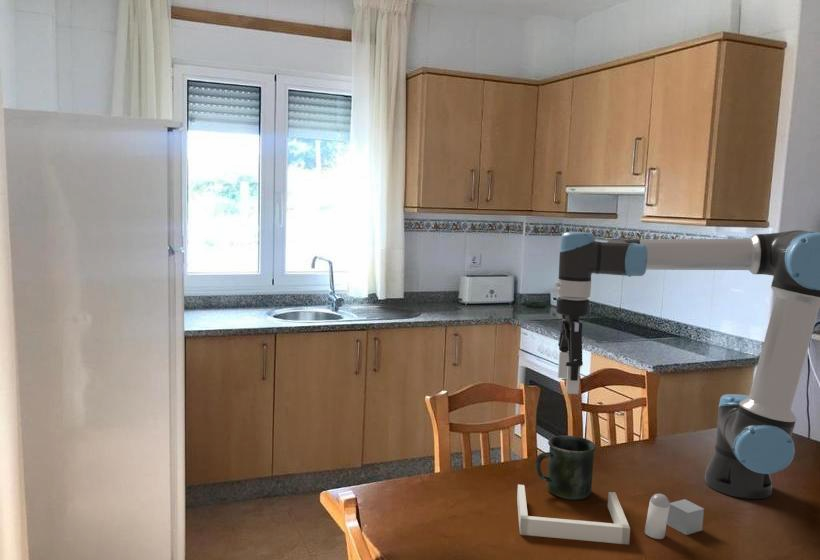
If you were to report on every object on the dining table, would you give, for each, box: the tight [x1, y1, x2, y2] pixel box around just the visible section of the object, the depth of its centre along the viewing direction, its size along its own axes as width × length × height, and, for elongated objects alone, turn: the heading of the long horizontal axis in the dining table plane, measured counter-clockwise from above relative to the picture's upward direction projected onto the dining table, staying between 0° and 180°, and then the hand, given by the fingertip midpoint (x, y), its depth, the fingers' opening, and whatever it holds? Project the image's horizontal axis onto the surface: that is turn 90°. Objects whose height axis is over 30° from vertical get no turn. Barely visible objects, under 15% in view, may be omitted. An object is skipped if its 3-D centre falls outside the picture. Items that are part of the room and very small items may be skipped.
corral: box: [516, 484, 631, 545], centre depth 148 cm, size 22×17×4 cm
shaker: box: [644, 493, 670, 540], centre depth 143 cm, size 4×4×9 cm
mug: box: [534, 435, 597, 500], centre depth 162 cm, size 11×15×12 cm
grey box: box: [666, 498, 705, 536], centre depth 147 cm, size 5×5×5 cm
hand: (567, 385), depth 163 cm, fingers open, 13 cm apart
